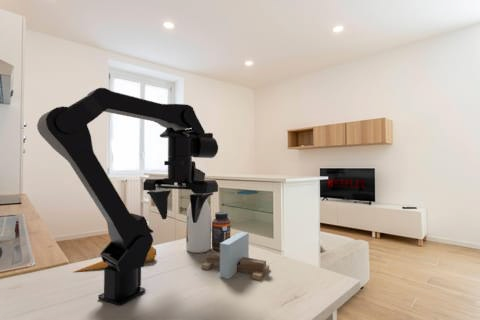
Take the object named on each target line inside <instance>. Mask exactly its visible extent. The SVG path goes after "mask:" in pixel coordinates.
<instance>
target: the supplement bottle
mask: <svg viewBox="0 0 480 320" xmlns="http://www.w3.org/2000/svg"><path fill="white" fill-rule="evenodd" d="M214 217H215V218H214V219H213V220H211V248H212V249H213V250H216V251H220V243H221V242H223V241H225V240H227V239H229V238H231V220H230V219H229V218H228V212H227V211H218V212H215V214H214Z"/></svg>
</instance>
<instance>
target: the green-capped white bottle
mask: <svg viewBox="0 0 480 320" xmlns="http://www.w3.org/2000/svg"><path fill="white" fill-rule="evenodd" d="M191 194H195V193H193V192H192V191H191ZM185 233H186V234H185V235H186V236H185V237H186V238H185V239H186V240H185V242H186V243H185V244H186V245H185V248H186V251H187V252H189V253H194V254H200V253H205V252H210V250H211V248H212V210H211V207H210V204H209V201H208V198H207V199H206V200H205V202H204V204H203V207H202V209H201V212H200V215H199V218H198V221H197V222H196V223H193V219H192V212H191V202H189V205H188V208H187V212H186V232H185Z"/></svg>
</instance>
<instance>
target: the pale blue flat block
mask: <svg viewBox="0 0 480 320" xmlns="http://www.w3.org/2000/svg"><path fill="white" fill-rule="evenodd" d="M249 235H250V233H249V232H245V231H240V232H238V233H237V234H234V235H232V236H230V238H229V239H227V240H225V241H223V242H221V243H220V250H219V253H220V268H219V278H222V279H227V280H229V279H230V278H232V277H233V276H234V275H235V274H236V273H237V272H238V271H237V263H239V262H240V259H242V258H243V257H246V258H250V257H249V245H250V244H249V241H250V239H249V238H250V237H249Z"/></svg>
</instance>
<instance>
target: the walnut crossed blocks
mask: <svg viewBox="0 0 480 320" xmlns="http://www.w3.org/2000/svg"><path fill="white" fill-rule="evenodd" d="M213 267H215V268H219V269H220V252H215V251H208V253H206V261H205V262H203V263H202V264H201V269H202V270H207V271H208V270H210V269H212V268H213ZM268 271H270V265H269V264H267V260H263V259H257V258H251V257H249V258H246V257H243V258H242V259H240V262H239V263H237V272H239V273H246V274H251V279H252V280H256V281H261V280H262V278H264V277H265V275H266V274H267V273H268Z"/></svg>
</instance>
